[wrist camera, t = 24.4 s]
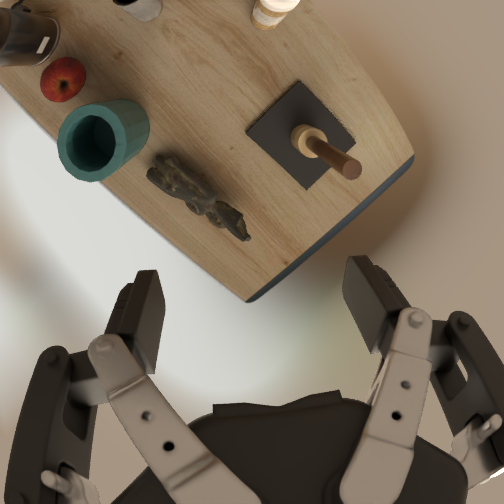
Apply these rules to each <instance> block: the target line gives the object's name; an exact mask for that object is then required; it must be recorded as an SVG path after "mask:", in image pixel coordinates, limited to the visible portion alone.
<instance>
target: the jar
mask: <svg viewBox="0 0 504 504" xmlns="http://www.w3.org/2000/svg"><path fill="white" fill-rule="evenodd" d="M149 130H150V125H149V119H148V116H147V114H146V112H145V111H144V110H143V108H142V107H141V106H140V105H138V104H137V103H135V102H133V101H130V100H125V99H118V100H111V101H104V102H98V103H92V104H88V105H85V106H81V107H78V108H77V109H75V110H74V111H73V112H72V113H70V114H69V115H68V116H67V117H66V119H65V121H64V122H63V124H62V126H61V128H60V130H59V135H58V141H57V147H58V153H59V158H60V160H61V162H62V164H63V165H64V167H65V169H66V170H67V171H68V172H69V173H70V174H72V175H73V176H74V177H75V178H77V179H79V180H83V181H87V182H95V181H101V180H104V179H105V178H107V177H108V176H110V175H111V174H113V173H114V172H116V171H117V170H118V169H119V168H120V167H122V166H123V165H124V164H125V163H126V162H128V161H129V160H130V159H131V158H133V157H134V156H135V155H136V154H138V153H139V151H140V150H141V149H142V148H143V147H144V145H145V144H146V141H147V139H148V136H149Z"/></svg>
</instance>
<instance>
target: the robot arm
mask: <svg viewBox="0 0 504 504" xmlns="http://www.w3.org/2000/svg"><path fill="white" fill-rule="evenodd" d="M22 2H23V0H19V1H18V2H17V3H15V4H13V5H12V7H11V9H8V8H1V7H0V67H6V66H36V65H39V64H41V63H43V62H44V61H45V60H47V59H48V58H49V57H50V55H51V54H52V53H53V51H54V50H55V48H56V46H57V44H58V41H59V37H60V27H59V24H58V22H57V21H56V20H55V19H53V18H50V17H44V16H40V15H36V14H32V13H30V12H31V10H30V9H29V8H27V7H25V6H21V5H20V4H21V3H22ZM342 290H343V291H342V292H343V297H344V300H345V302H346V304H347V306H348V308H349V310H350V312H351V314H352V316H353V318H354V320H355V322H356V324H357V325H358V328H359V330H360V332H361V334H362V337H363V339H364V341H365V343H366V345H367V347H368V350H369V352H370V354H374V353H378V352H381V354H382V358H381V360H380V362H379V365H378V368H377V371H376V374H375V377H374V379H373V382H372V385H371V388H370V390H369V393H368V395H367V397H366V399H365V402H361V401H359V400H354V399H349V398H342V396H341V393H340V390H335V391H329V392H324V393H318V394H312V395H308V396H306V397H303V398H301V399H298V400H296V401H293V402H290V403H287V404H285V405H282V406H268V405H260V404H252V403H231V404H213V413H210V414H207V415H204V416H202V417H199V418H197V419H196V420H194V421H192V422H191V423H189V424H188V425H186V424H185V422H184V421H183V420H182V419H181V418H180V416H179V415H178V414H177V413H176V412H175V410H174V409H173V408H172V407H171V405H170V404H169V403H168V402H167V400H166V399H165V398H164V396H163V395H162V394H161V392H160V391H159V390H158V388H157V387H156V386H155V384H154V383H153V381H152V380H151V379H150V377H149V376H148V375H147V374H155V368H156V361H157V355H158V349H159V343H160V338H161V332H162V326H163V321H164V316H165V299H164V295H163V291H162V287H161V283H160V280H159V275H158V272H157V270H141V271H138V273H137V275H136V278H135V281H134V283H128V284H127V285H126V286H125V287H124V288H123V289H122V290H121V291H120V293H119V295H118V298H117V302H116V303H115V306H114V309H113V311H112V314H111V316H110V319H109V322H108V324H107V327H106V330H105V333H104V334H103V335H100V336H98V337H97V338H95V339H94V340H93V341H92V342H91V343H90V345H89V347H88V350H86V351H81V352H77V353H73V354H69V353H68V352H67V350H66V349H65V348H64V347H62V346H52V347H49V348H47V349H46V350H45V351H43V352H42V354H41V355H40V356H39V359H38V361H37V364H36V366H35V369H34V372H33V375H32V378H31V381H30V383H29V386H28V389H27V392H26V396H25V399H24V402H23V405H22V409H21V412H20V416H19V420H18V423H17V427H16V431H15V435H14V440H13V444H12V449H11V454H10V459H9V464H8V470H7V477H6V483H5V492H4V502H5V504H101V503H100V499H99V493H98V490H97V488H96V486H95V485H94V484H93V483H92V482H91V481H90V480H89V470H90V459H91V450H92V441H93V434H94V425H95V419H96V414H97V408H98V404H103V403H107V402H109V403H110V405H111V407H112V408H113V410H114V412H115V414H116V416H117V417H118V419H119V421H120V422H121V424H122V425H123V427H124V429H125V431H126V432H127V434H128V435H129V437H130V439H131V440H132V442H133V443H134V445H135V446H136V448H137V449H138V451H139V452H140V454H141V455H142V457H143V458H144V459H145V461H146V463H147V464H148V467H147V468H146V469H145V470H144V471H143V472H142V473H141V474H140V475H139V476H138V477H137V478H136V479H135V480H134V481H133V482H132V483H131V484H130V485H129V486H128V487H127V488H126V489H125V490H124V491H123V492H122V493H121V494H120V495H119V496H118V497H117V498H116V499H115V500H114V501H113V502H112V503H111V504H466V499H467V493H468V490H469V489H471V488H472V487H474V486H476V485H480V484H483V483H485V482H487V481H488V480H490V479H492V478H494V477H495V476H497V475H499V474H500V473H502V472H504V365H503V363H502V361H501V360H500V358H499V357H498V355H497V353H496V351H495V350H494V348H493V347H492V345H491V343H490V342H489V340H488V339H487V337H486V336H485V334H484V333H483V331H482V330H481V328H480V327H479V325H478V324H477V322H476V321H475V320H474V318H473V317H472V316H470V315H469V314H467V313H465V312H462V311H455V312H453V313H451V315H450V316H449V318H448V320H447V321H440V320H432V319H431V317H430V316H429V315H428V314H427V313H426V312H425V311H423V310H421V309H419V308H415V307H411V306H410V304H409V303H408V301H407V300H406V298H405V297H404V296H403V294H402V293H401V291H400V290H399V288H398V287H396V284H395V283H394V282H393V281H392V279H391V278H390V276H389V275H388V273H387V272H386V271H385V270H383V269H382V268H380V267H379V266H378V265H373V263H372V262H371V261H370V259H369V258H368V257H367V256H366V255H357V256H349V257H348V259H347V264H346V269H345V275H344V280H343V287H342ZM459 359H460V360H461V362H462V364H463V365H464V367H465V369H466V371H467V374H468V380H467V382H466V380H465V378H464V376H463V374H462V372H461V370H460V368H459V367H458V365H457V362H458V360H459ZM145 374H146V375H145ZM429 379H430V381H431V383H432V385H433V388H434V390H435V392H436V395H437V397H438V399H439V402H440V404H441V406H442V409H443V411H444V413H445V416H446V418H447V421H448V423H449V426H450V429H451V431H452V434H453V436H454V439H453V442H452V450H451V451H450V454H448V453H446V452H444V451H443V450H441V449H439V448H438V447H436V446H434V445H432V444H431V443H429V442H427V441H426V440H424V439H423V438H421V437H419V436H418V435H417V431H418V427H419V424H420V420H421V416H422V411H423V407H424V403H425V399H426V393H427V389H428V384H429Z"/></svg>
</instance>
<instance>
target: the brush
mask: <svg viewBox="0 0 504 504" xmlns="http://www.w3.org/2000/svg"><path fill="white" fill-rule="evenodd" d="M291 142H292V144H293V146H294V147H295V148H296V149H297V150H299V151H300V152H301V153H302V154H303V155H305V156H306V157H309V158H316V157H320V158H321V159H322V160H323V161H325V162H326V163H327V164H329V165H330V166H331V167H332V168H334V169H335V170H336V171H337V172H339V173H340V174H341V175H342V176H344V177H345V178H346V179H348V180H355V179H357V178H358V177H359V176H360V174H361V172H362V166H361V164H360V162H359V161H357V160H356V159H354V158H352V157H351V156H349V155H347V154H346V153H344V152H342V151H341V150H339V149H337V148H336V147H334V146H332V145H330V144H329V143H327V138H326V136H325V134H324V133H323V132H322V131H320V130H319V129H316V128H314V127H312V126H310V125H306V124H302V125H299V126H297V127H295V128H294V129H293V131H292V133H291Z"/></svg>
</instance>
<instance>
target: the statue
mask: <svg viewBox="0 0 504 504" xmlns="http://www.w3.org/2000/svg"><path fill="white" fill-rule="evenodd" d="M153 162H154V164H155V165H156V166H157V168H153V167H152V168H150V169H149V170H148V171H147V175H146V177H147V178H148V179H149V180H150V181H151V182H152V183H153V184H155V185H156V186H157V187H158V188H160V189H161V190H162V191H164V192H165V193H167V194H168V195H170V196H172V197H175V198H178V199H181V200H184V201H185V203H186V205H187V207H188V208H189V209H190V210H191V211H192V212H194V213H196V214H197V215H204V214H206V216H207V218H208V219H209V221H210V222H211V223H212V224H213V225H214V226H216V227H217V228H227V229H228V230H229V231H230V232H231V233H232V234H233V235H234V236H235V237H237V238H238V239H240V240H241V241H243V242H244V241H249V240H250V239H251V237H250V235H249V234H248V233H247V230H246V224H245V221H244V220H243V214H242V213H240V212H239V211H237V210H236V209H234V208H232V207H231V206H229V205H228V204H227V203H225V202H223V201H216V200H217V194H216V192H215V191H214V190H213V189H212V188H211V187H210V186H209V185H208V184H207V183H206V182H204V181H202V179H201V178H199V177H198V176H197V175H196V174H195V173H194V172H193V171H191V170H189V169H187V168H186V167H184V166H183V165H182V164H181V163H179V161H178V159H177V156H172V157H169V158H168V159H165V158H164V157H163V156H161V155H158V156H156V158H155V159H154V160H153ZM211 212H212V213H214V214H212V213H211Z"/></svg>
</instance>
